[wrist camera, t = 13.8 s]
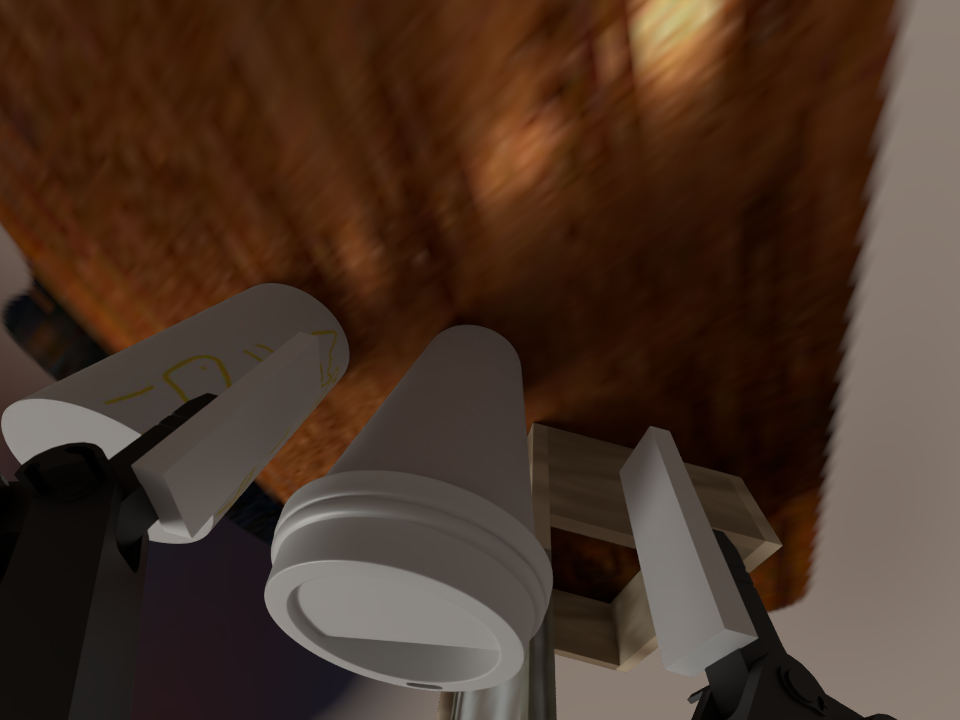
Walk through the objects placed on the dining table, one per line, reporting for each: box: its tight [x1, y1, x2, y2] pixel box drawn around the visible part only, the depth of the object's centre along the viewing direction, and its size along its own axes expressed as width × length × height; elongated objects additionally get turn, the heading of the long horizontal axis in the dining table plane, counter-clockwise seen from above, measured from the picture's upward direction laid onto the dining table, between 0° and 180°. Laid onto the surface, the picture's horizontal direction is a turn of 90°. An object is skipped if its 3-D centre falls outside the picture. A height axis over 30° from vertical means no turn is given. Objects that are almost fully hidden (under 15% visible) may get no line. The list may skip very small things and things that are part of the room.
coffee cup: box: [265, 325, 553, 692], centre depth 17 cm, size 10×10×15 cm
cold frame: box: [436, 423, 783, 720], centre depth 21 cm, size 21×16×22 cm
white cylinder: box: [1, 283, 349, 543], centre depth 19 cm, size 8×8×12 cm
